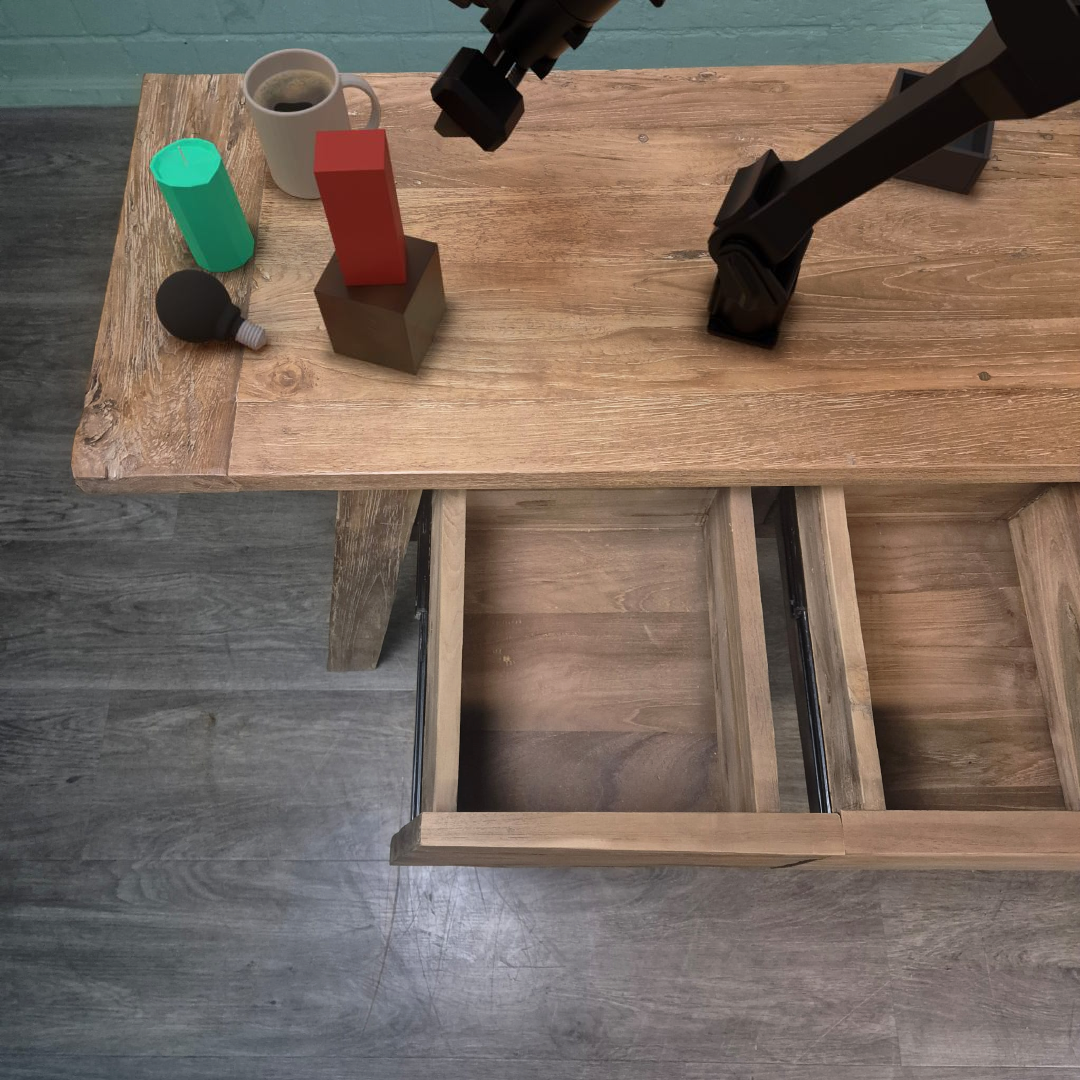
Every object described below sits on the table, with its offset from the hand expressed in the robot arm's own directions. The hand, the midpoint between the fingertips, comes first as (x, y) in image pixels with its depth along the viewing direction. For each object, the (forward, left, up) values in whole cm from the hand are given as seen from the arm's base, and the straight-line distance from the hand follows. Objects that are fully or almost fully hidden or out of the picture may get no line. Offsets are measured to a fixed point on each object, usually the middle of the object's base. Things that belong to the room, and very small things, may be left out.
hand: (462, 95), depth 74 cm
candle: (+22, +11, -15) cm, 28 cm away
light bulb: (+18, +20, -15) cm, 30 cm away
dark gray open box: (-41, -24, -14) cm, 50 cm away
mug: (+17, -2, -15) cm, 22 cm away
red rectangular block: (+3, +15, -6) cm, 16 cm away
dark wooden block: (+3, +15, -14) cm, 21 cm away
